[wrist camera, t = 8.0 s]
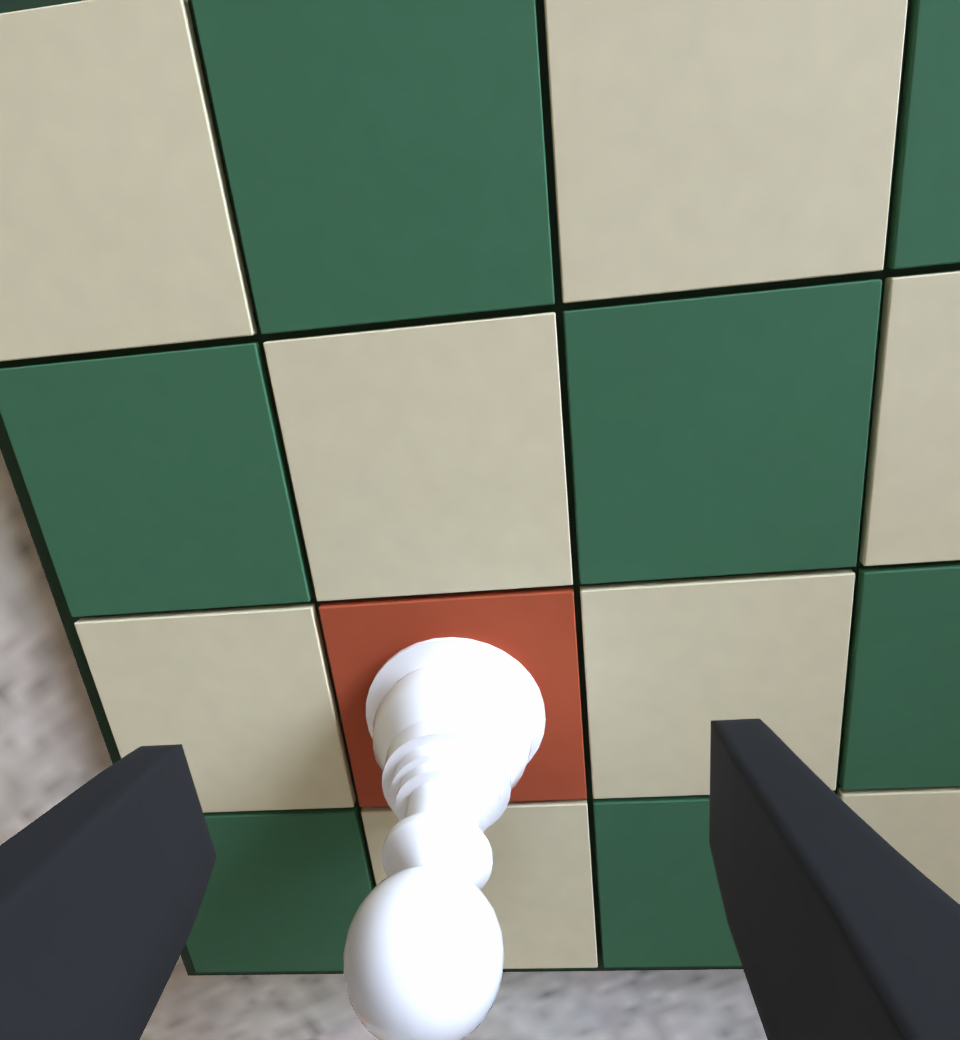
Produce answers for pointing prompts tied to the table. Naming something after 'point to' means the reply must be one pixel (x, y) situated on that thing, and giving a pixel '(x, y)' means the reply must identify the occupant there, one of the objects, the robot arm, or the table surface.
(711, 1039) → the table surface
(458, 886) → the chess pawn
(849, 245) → the chess mat
